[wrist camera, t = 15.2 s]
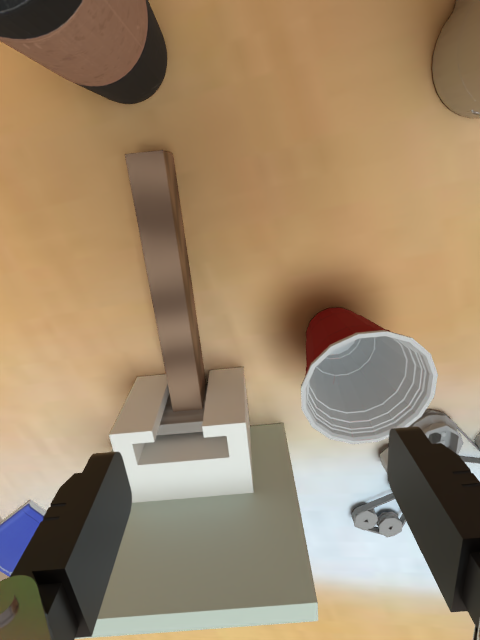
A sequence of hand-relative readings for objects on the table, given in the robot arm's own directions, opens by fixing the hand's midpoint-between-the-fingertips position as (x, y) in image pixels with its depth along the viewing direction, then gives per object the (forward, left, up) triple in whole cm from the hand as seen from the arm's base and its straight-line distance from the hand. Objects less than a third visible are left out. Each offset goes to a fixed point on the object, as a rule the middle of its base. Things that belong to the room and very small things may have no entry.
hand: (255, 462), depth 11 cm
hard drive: (+35, -33, -29) cm, 56 cm away
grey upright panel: (+17, -7, -28) cm, 34 cm away
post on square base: (+2, -7, -28) cm, 29 cm away
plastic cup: (+9, +9, -28) cm, 31 cm away
